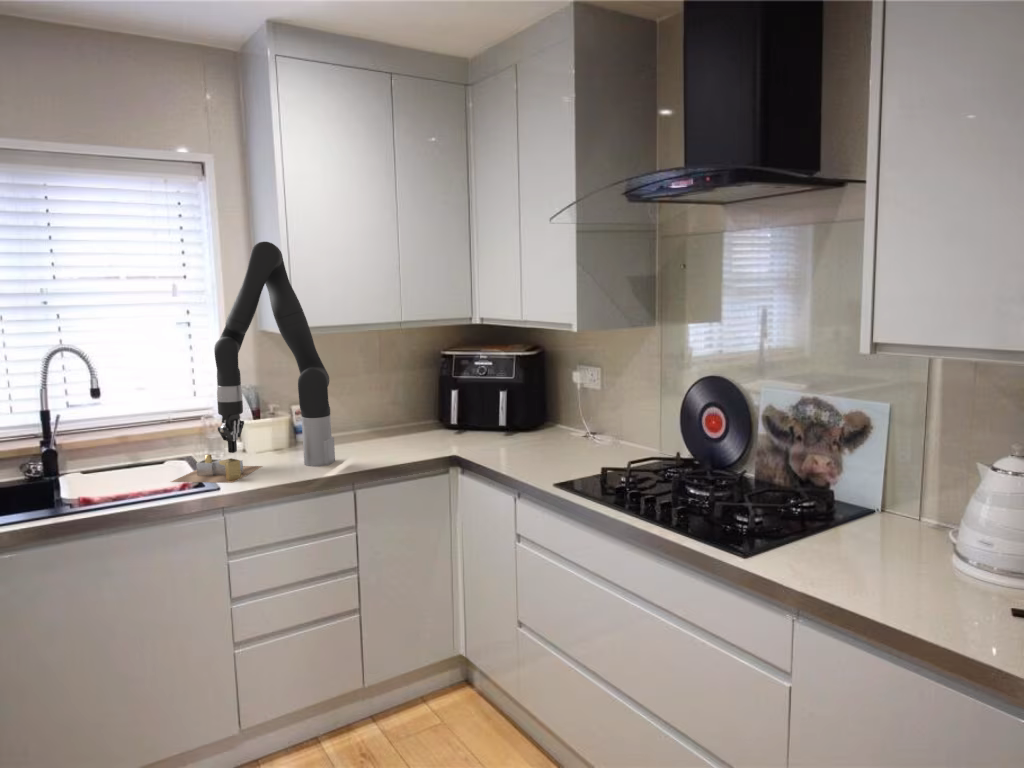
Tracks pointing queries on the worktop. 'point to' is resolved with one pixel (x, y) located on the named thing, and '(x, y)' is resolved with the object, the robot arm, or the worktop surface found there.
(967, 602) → the worktop surface
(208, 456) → the cylinder
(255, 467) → the board
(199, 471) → the link
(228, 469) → the block
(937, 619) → the worktop surface
